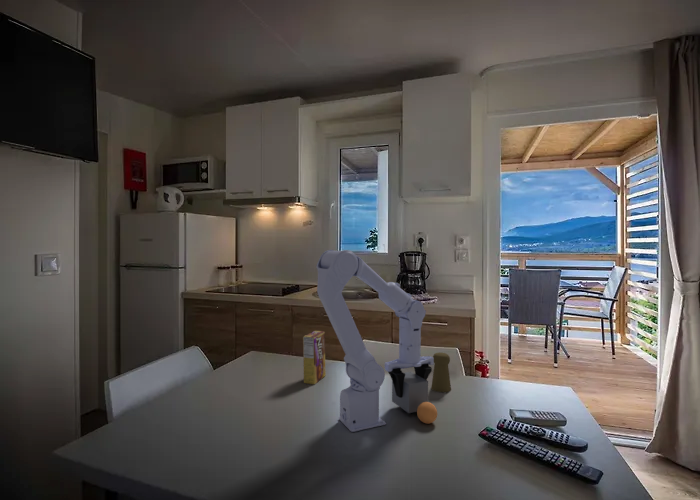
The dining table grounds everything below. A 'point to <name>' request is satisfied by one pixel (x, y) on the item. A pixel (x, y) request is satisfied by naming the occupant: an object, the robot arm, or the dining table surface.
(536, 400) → the dining table surface
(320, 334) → the candy box
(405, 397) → the dark gray square block
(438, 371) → the cork
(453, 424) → the dining table surface
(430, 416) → the ball
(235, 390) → the dining table surface
